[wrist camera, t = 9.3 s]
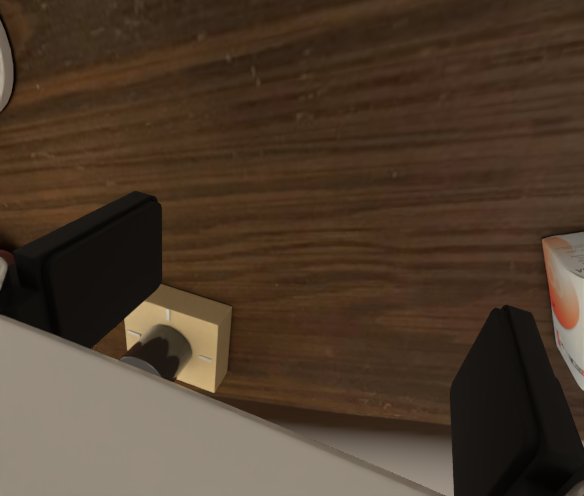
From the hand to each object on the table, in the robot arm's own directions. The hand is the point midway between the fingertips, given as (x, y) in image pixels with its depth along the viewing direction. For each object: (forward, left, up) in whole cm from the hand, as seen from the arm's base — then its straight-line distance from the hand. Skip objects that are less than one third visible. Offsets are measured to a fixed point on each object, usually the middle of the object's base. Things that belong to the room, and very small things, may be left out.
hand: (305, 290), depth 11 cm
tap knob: (-15, -22, -16) cm, 31 cm away
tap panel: (-15, -22, -19) cm, 33 cm away
